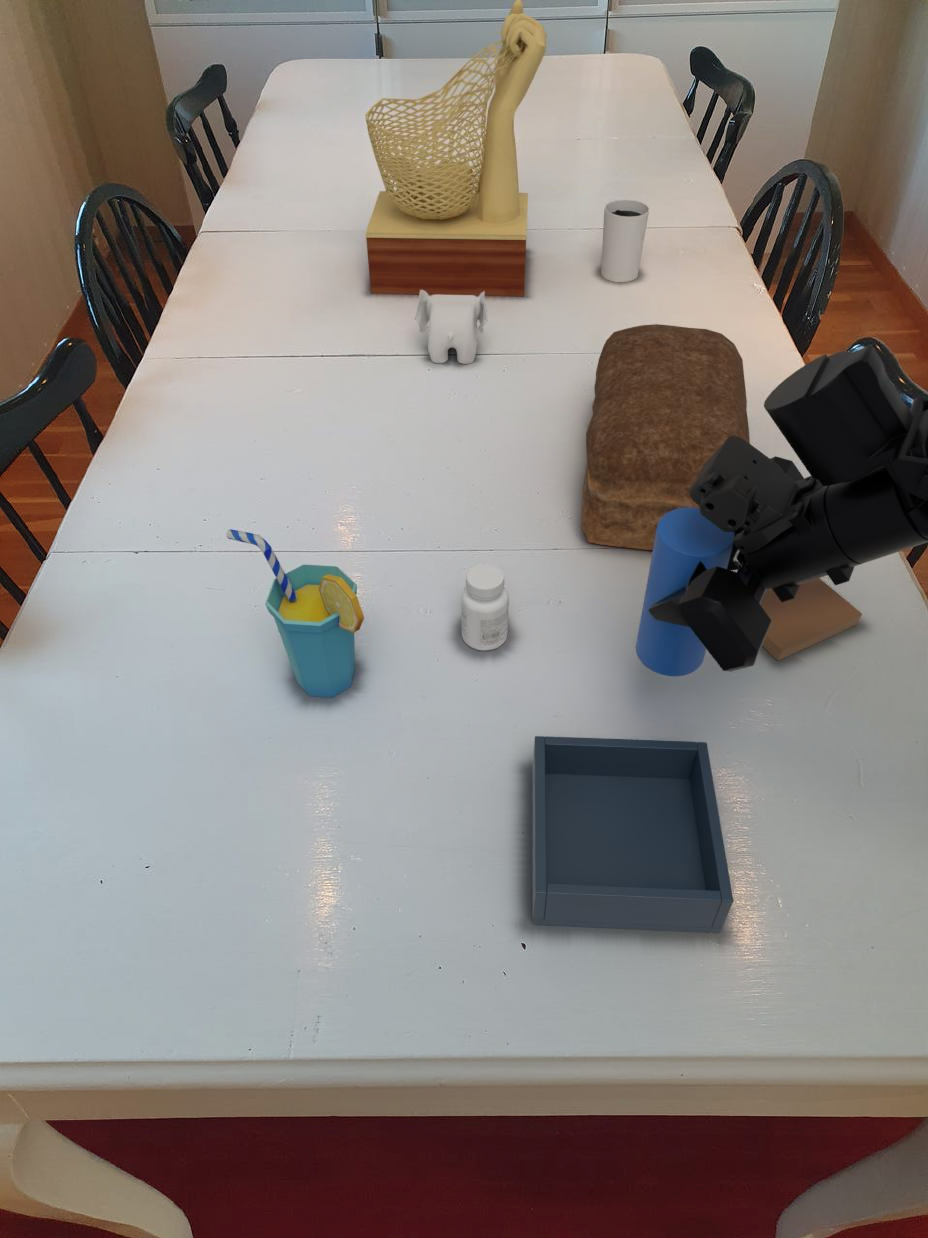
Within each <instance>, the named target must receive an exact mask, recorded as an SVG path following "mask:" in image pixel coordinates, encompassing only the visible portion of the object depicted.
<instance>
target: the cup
mask: <svg viewBox="0 0 928 1238" xmlns="http://www.w3.org/2000/svg"><path fill="white" fill-rule="evenodd" d="M225 534H226V538H227V539H229V540H233V541H235V542H241V543H246V544H250V545H254V546H256V547H257V548H259V550H261V552H262V554H263V556H264V558H265V559H266V561H267V563H268V565H269V567H270V569H271V571H272V573H273V574H274V576H275V578H274V579H273V581H272V584H271V587H270V590H269V593H268V595H267V597H266V601H265V604H264V605H265V606H266V610H267V612H268V613H269V614H270V615H271V616H272V617H273V619H274V621H275V624H276V627H277V631H278V633H279V636H280V638H281V641H282V644H283V648H284V649H285V650H284V651H285V653H286V655H287V658H288V660H289V663H290V666H291V668H292V669H291V670H292V671H293V674H294V677H295V681H296V683H297V684H298V686H300V687H301V689H302V690H303V691H304V692H305V693H306V694H307V695H308V697H312V698H313V697H315V698H328V699H332V698H334V697H336V696H338V695H340V694H341V693H342V692H345V691H346V690H348V689H350V688H351V687H352V683H353V679H354V675H355V671H356V665H355V663H356V661H355V660H356V657H355V655H356V654H355V633H357V632H358V631H359V630H360V629H361V627H362V625H363V622H364V619H365V616H364V613H363V610H362V607H361V604H360V601H359V598H358V596H357V595H358V584H357V583H356V581H353V579H351V577H349V576H348V575H347V574H346V573H345V572H344V571H343V570H342V569H341V568H340V567H339V566H335V565H332V566H331V565H321V564H319V565H317V564H302V565H299V566H298V567H296V568H294V569H291V570H290V571H288V572H285V571H284V569H283V567H282V565H281V563H280V561H279V559H278V557H277V556H276V553H275V551H274V550H273V548H272V546H271V545H270V544H269V542H268V541H267V540H266V539H265V538H263V536H261V535H260V534H257V533H254V532H253V533H252V532H246V531H242V530H237V529H231V528H230V529H227V531H226V533H225Z"/></svg>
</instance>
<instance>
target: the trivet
mask: <svg viewBox="0 0 928 1238" xmlns="http://www.w3.org/2000/svg"><path fill="white" fill-rule="evenodd" d="M760 605H761V607H762V608H763V609H764V611H765V612H766V613H767V615H768V616H769V617H770V619H771V620H772V621H771V624H770V627H769V630H768V633H767V636H766V638H765V640H764V643H763V645H762V648H763V649H764V650H765V651H766V652H768V653H769V654H770V655H771V656H772V657H773V658H774V659H775V660H776V661H778V662H780V661H782V660H783V659H785V658H788V657H790V656H792V655H794V654H797V653H799V652H801V651H803V650H805V649H808V648H810V647H811V646H814V645H816V644H818V643H820V642H823V641H824V640H827V639H829V638H831V637H834V636H835V635H838V634H840V633H842V632H845V631H847V630H850V629H851V628H853V627H855V626H857V625H859V622H860V620H861V618H862V615H863V613H862V612H861V611H860V610H858V609H857V608H856V607H855V606H854V605H853V604H851V603H850V602H849V601H847V599H845V598H844V597H843V596H842V595H840V593H838V592H837V591H836V590H835V589H833V588H832V587H831V586H830V585H828V584H827V583H826V582H825V581H824V580H822V578H821V577H820V578H817V579H814V580H811V581H808V582H805V583H802V584H800V586H799V589H798V591H797V593H796V596H795V598H794V599H791V600H788V601H785V602H781V601H780V599H779V598H778V597H777V595H776V594H775V593H774V591H773V590H772V588H771V589H767V590H766V592H765V594H764V596H763V598H762V600H761V603H760Z"/></svg>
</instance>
